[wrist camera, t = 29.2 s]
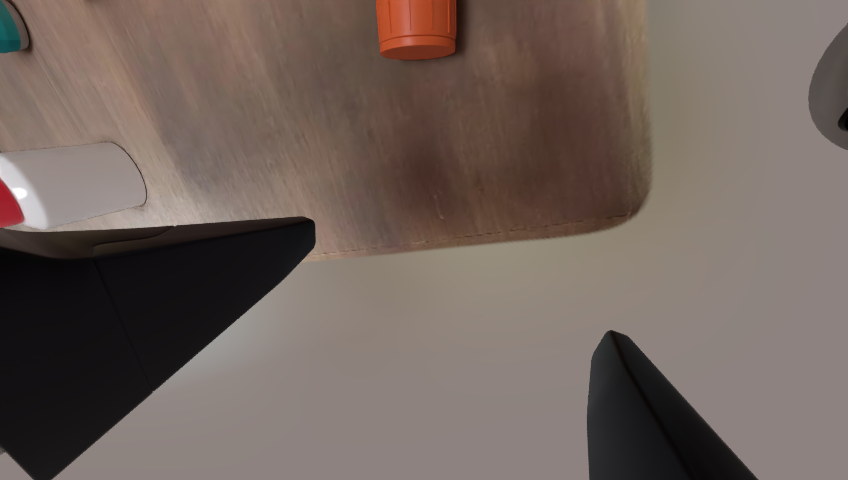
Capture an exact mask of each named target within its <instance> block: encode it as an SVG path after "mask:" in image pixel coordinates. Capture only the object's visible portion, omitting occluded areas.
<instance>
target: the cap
mask: <svg viewBox="0 0 848 480" xmlns="http://www.w3.org/2000/svg"><path fill="white" fill-rule="evenodd" d="M376 8H377V20H378V32H379V44H380V54H381V55H382V56H383V57H386V58H390V59H398V60H423V59H433V58H439V57H444V56H447V55H450V54H452V53H454V52H455V37H456V0H376Z"/></svg>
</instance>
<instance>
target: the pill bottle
mask: <svg viewBox="0 0 848 480" xmlns="http://www.w3.org/2000/svg"><path fill="white" fill-rule="evenodd" d="M145 200H146V189H145V185H144V182H143V179H142V176H141V174H140V172H139V170H138V168H137V167H136V165H135V164H134V162H133V161H132V159H131V158H130V157H129V156H128V154H127V153H126V152H125V151H124V150H123V149H121V148H120V147H119V146H117V145H116V144H114V143H111V142H104V143H93V144H83V145H72V146H62V147H51V148H41V149H30V150H20V151H9V152H0V228H3V227H7V226H12V225H16V224H22V225H25V226H29V227H33V228H36V229H41V230H46V229H50V228H54V227H58V226H62V225H66V224H70V223H74V222H78V221H82V220H86V219H90V218H94V217H98V216H102V215H106V214H110V213H114V212H118V211H122V210H126V209H130V208H134V207H138V206H141V205H143V204H144V202H145Z"/></svg>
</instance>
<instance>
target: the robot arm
mask: <svg viewBox="0 0 848 480" xmlns="http://www.w3.org/2000/svg"><path fill="white" fill-rule="evenodd" d="M838 127H839V128H840V129H841V130H843V131H846V132H848V108H847V109H846V110H845V111H844V113H843V114H842V115H841V117H840V118H839V120H838ZM315 243H316V237H315V223H314V221H313V220H311V219H309V218H306V217H303V216H300V217H286V218H273V219H259V220H245V221H232V222H218V223H204V224H190V225H177V226H162V227H147V228H131V229H110V230H85V231H60V232H25V231H16V230H9V229H4V228H0V455H1V454H3V453H4V452H6V453H7V454H8V455H9V456H10V457H11V458H12V459H13V460H14V461H15V462H16V463H17V464H18V465H19V466H20V467H21V468H22V469H23V470H24V471H25V472H26V473H27V474H28V475H29V476H30V477H31V478H32V479H33V480H52V479H53V478H54V477H55V476H57V475H58V474H59V473H60V472H61V471H62V470H64V469H65V468H66V467H67V466H68V465H69V464H71V463H72V462H73V461H74V460H75V459H76V458H78V457H79V456H80V455H81V454H82V453H83V452H84V451H86V450H87V449H88V448H89V447H90V446H91V445H93V444H94V443H95V442H96V441H97V440H98V439H100V438H101V437H102V436H103V435H104V434H105V433H107V432H108V431H109V430H110V429H111V428H112V427H113V426H115V425H116V424H117V423H118V422H119V421H120V420H122V419H123V418H124V417H125V416H126V415H127V414H129V413H130V412H131V411H132V410H133V409H134V408H136V407H137V406H138V405H139V404H140V403H141V402H143V401H144V400H145V399H146V398H147V397H148V396H149V395H150V394H152V392H153V391H155V390H156V389H157V388H158V387H160V386H161V385H162V384H163V383H164V382H165V381H166V380H168V379H169V378H170V377H171V376H172V375H173V374H175V373H176V372H177V371H178V370H179V369H180V368H182V367H183V366H184V365H185V364H186V363H187V362H189V361H190V360H191V359H192V358H193V357H194V356H196V354H198V353H199V352H200V351H201V350H202V349H204V348H205V347H206V346H207V345H208V344H209V343H211V342H212V341H213V340H214V339H215V338H216V337H218V336H219V335H220V334H221V333H222V332H223V331H225V330H226V329H227V328H228V327H229V326H230V325H232V324H233V323H234V322H235V321H236V320H237V319H239V318H240V316H242V315H243V314H244V313H245V312H247V311H248V310H249V309H250V308H251V307H252V306H253V305H255V304H256V303H257V302H258V301H259V300H261V299H262V298H263V297H264V296H265V295H266V294H268V293H269V292H270V291H271V290H272V289H273V288H275V287H276V286H277V285H278V284H279V283H280V282H281V281H282V280H283V279H284V278H285V277H286V276H287V275H288V274H289V273H290V272H291V271H292V270H293V269H294V268H295V267H296V266H297V265H298V264H299V263H300V262H301V261H302V260H303V259H304V258H305V257H306V256H307V255H308V254H309V253H310V251H311V250H312V249H313V248H314V246H315ZM587 437H588V457H589V458H588V459H589V480H758V479H757V478H756V477H755V476H754V474H753V473H752V472H751V471H750V470H749V469H748V468H747V467H746V466H745V465H744V463H743V462H742V461H741V460H740V459H739V458H738V457H737V456H736V455H735V453H734V452H733V451H732V450H731V449H730V448H729V447H728V446H727V445H726V443H725V442H723V440H722V439H721V438H720V437H719V436H718V435H717V434H716V432H715V431H714V430H713V429H712V428H711V427H710V426H709V425H708V424H707V423H706V421H705V420H704V419H703V418H702V417H701V416H700V415H699V414H698V413H697V412H696V410H695V409H694V408H693V407H692V406H691V405H690V404H689V403H688V402H687V401H686V400H685V398H684V397H682V395H681V394H680V393H679V392H678V391H677V389H676V388H675V387H674V386H673V385H672V384H671V383H670V382H669V381H668V380H667V379H666V377H665V376H664V375H663V374H662V373H661V372H660V371H659V370H658V369H657V368H656V366H654V364H653V363H652V362H651V361H650V360H649V359H648V358H647V357H646V356H645V354H644V353H643V352H642V351H641V350H640V349H639V348H638V347H637V345H636V344H635V343H634V342H633V341H632V340H631V339H630V338H629V337H628V336H626V335H624V334H621V333H618V332H615V331H613V330H610V331H608V332H607V333H606V334H605V335H604V337H603V339H602V340H601V342H600V343H599V345H598V347H597V348H596V350H595V351H594V354H593V356H592V360H591V371H590V383H589V395H588V407H587Z"/></svg>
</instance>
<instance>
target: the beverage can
mask: <svg viewBox="0 0 848 480" xmlns="http://www.w3.org/2000/svg"><path fill="white" fill-rule="evenodd" d="M28 45H29V38H28V34H27V30H26V28H25V25H24V23H23V21H22V19H21V17H20V15H19V14H18V12H17V11H16V9H15V8H14V7H13V6H12V5H11V4H10V3H9V2H8V1H6V0H0V53H8V52H14V51H19V50H23V49H25V48H27V47H28Z"/></svg>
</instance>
